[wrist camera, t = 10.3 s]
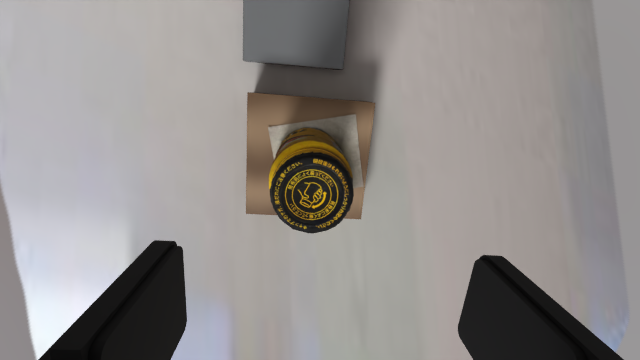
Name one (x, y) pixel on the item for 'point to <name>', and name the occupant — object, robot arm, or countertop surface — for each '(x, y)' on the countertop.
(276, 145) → the condiment
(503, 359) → the robot arm
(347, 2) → the coaster
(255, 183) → the block
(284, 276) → the countertop surface
